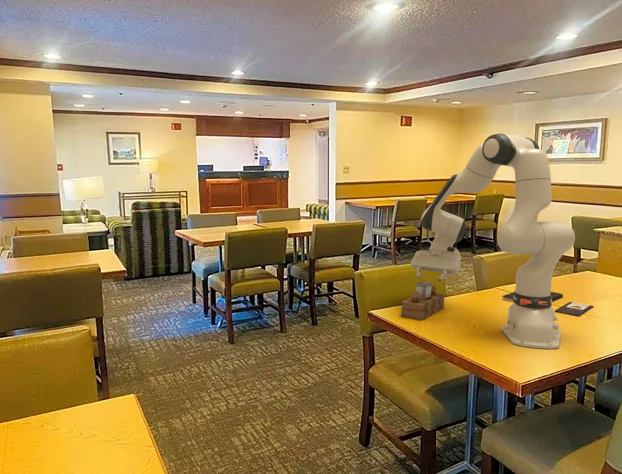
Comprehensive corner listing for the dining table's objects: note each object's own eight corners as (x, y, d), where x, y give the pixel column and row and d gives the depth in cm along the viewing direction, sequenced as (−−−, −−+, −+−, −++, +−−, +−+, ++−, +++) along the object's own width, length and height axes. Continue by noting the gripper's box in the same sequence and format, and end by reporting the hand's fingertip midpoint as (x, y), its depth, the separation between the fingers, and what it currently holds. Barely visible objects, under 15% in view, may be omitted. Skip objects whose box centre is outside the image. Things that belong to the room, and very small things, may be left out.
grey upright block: (425, 307, 186) (425, 285, 185) (415, 305, 189) (416, 283, 188) (431, 304, 190) (431, 282, 189) (421, 302, 193) (421, 281, 192)
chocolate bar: (554, 310, 188) (569, 301, 201) (554, 312, 188) (569, 303, 201) (579, 315, 182) (593, 305, 194) (578, 317, 182) (593, 308, 194)
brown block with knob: (422, 320, 180) (423, 295, 178) (401, 316, 185) (401, 291, 184) (444, 308, 195) (444, 284, 194) (423, 304, 201) (424, 281, 199)
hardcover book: (501, 301, 207) (501, 295, 207) (527, 292, 221) (527, 287, 221) (538, 308, 195) (538, 303, 195) (562, 298, 209) (563, 293, 209)
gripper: (414, 245, 203) (403, 271, 197) (461, 249, 190) (450, 277, 184) (419, 253, 207) (408, 279, 201) (465, 258, 194) (455, 286, 188)
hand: (429, 279), depth 192 cm, fingers open, 8 cm apart
